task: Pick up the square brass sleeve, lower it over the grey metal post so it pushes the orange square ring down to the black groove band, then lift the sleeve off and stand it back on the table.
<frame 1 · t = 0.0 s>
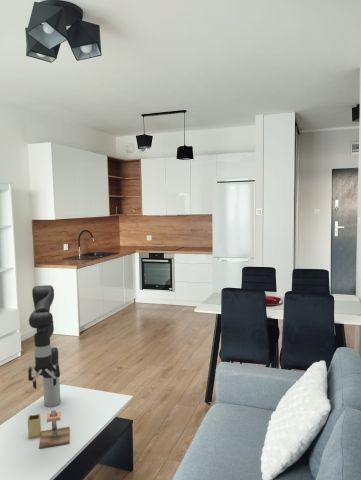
hand: (45, 386, 196), 29 cm above the table, fingers open, 8 cm apart
orange square ring: (53, 416, 203), point 11 cm above the table, slide at 0.0 cm
post stand: (55, 438, 203), on the table
sleeve: (35, 434, 208), on the table
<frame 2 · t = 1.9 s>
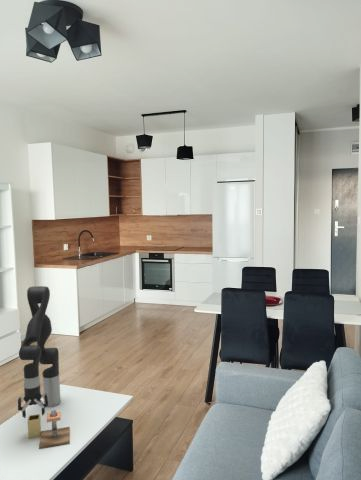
hand: (33, 416, 207), 10 cm above the table, fingers open, 8 cm apart
nothing on the table moved.
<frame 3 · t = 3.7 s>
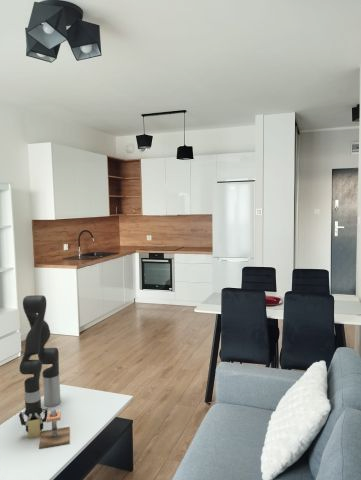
hand: (34, 430, 207), 2 cm above the table, fingers closed on sleeve, 5 cm apart
sleeve: (35, 434, 208), on the table, touching gripper
everything else where it was.
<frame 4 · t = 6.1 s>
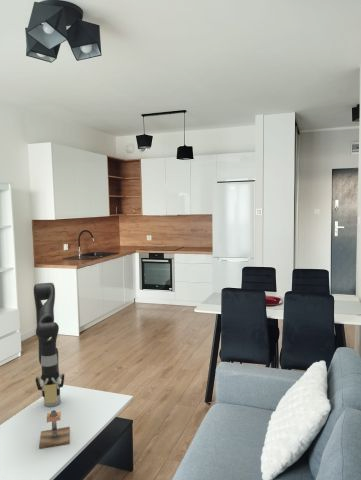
hand: (51, 396, 202), 22 cm above the table, fingers closed on sleeve, 5 cm apart
sleeve: (51, 400, 202), point 20 cm above the table, touching gripper
everything else where it was.
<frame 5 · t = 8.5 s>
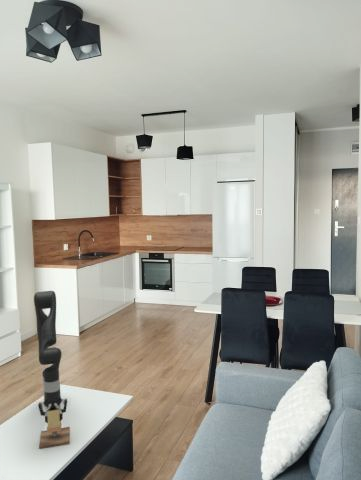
hand: (54, 421, 203), 9 cm above the table, fingers closed on sleeve, 5 cm apart
orange square ring: (54, 426, 203), point 6 cm above the table, slide at 5.2 cm, touching sleeve
sleeve: (54, 425, 203), point 7 cm above the table, touching gripper, orange square ring
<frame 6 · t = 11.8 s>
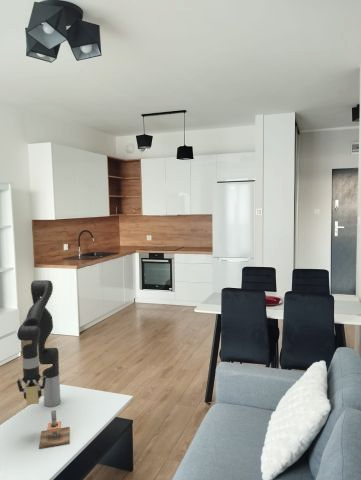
hand: (32, 397, 206), 19 cm above the table, fingers closed on sleeve, 5 cm apart
orange square ring: (54, 426, 203), point 6 cm above the table, slide at 5.2 cm
sleeve: (33, 401, 206), point 17 cm above the table, touching gripper
when the fingers open (3 cm above the table, at t = 14.9 s): sleeve drops 1 cm, on the table.
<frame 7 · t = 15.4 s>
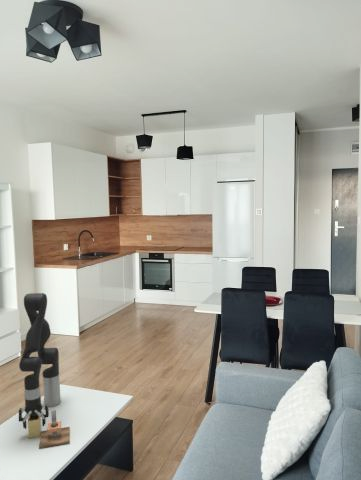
hand: (34, 426, 207), 4 cm above the table, fingers open, 8 cm apart
sleeve: (35, 434, 208), on the table
everything else where it was.
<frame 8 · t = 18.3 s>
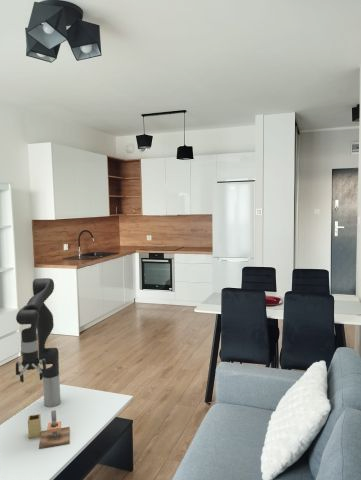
hand: (31, 380, 205), 28 cm above the table, fingers open, 8 cm apart
nothing on the table moved.
at the end: orange square ring slide at 5.2 cm; the gripper is holding nothing; sleeve tilted 0° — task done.
